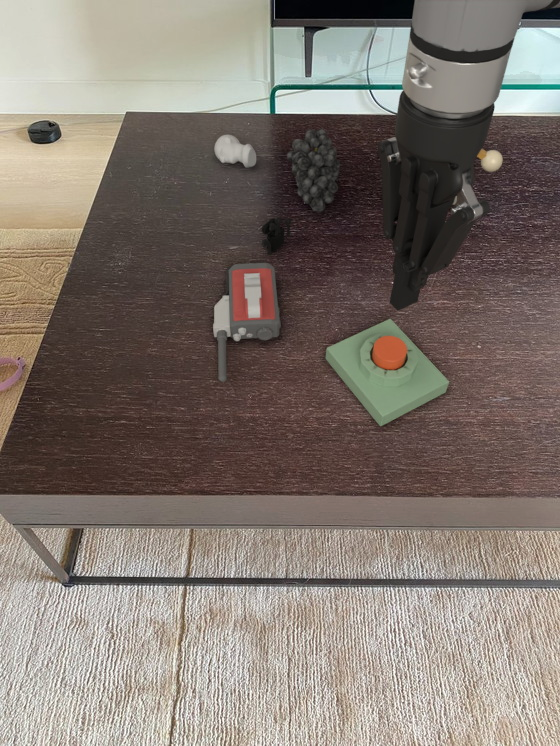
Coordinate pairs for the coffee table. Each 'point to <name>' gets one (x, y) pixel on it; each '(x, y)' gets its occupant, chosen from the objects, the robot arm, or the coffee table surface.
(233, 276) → the walkie-talkie
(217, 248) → the coffee table surface
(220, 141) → the smooth white sculpture
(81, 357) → the coffee table surface
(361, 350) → the switch box
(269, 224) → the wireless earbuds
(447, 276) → the coffee table surface
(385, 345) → the switch button
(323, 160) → the fruit
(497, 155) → the switch lever
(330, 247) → the coffee table surface
